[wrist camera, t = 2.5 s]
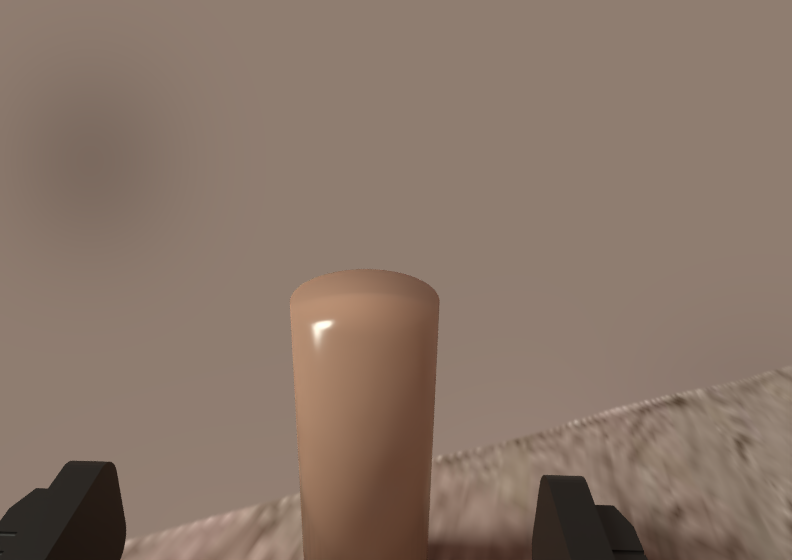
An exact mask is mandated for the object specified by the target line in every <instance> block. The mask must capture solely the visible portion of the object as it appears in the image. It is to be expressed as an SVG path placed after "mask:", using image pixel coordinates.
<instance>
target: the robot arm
mask: <svg viewBox="0 0 792 560" xmlns="http://www.w3.org/2000/svg"><path fill="white" fill-rule="evenodd" d="M125 539H126V522H125V517H124V511H123V505H122V499H121V493H120V488H119V482H118V476H117V471H116V467H115V465H114V464H113V463H112V462H98V461H69V462H68V463H66V464H65V466H64V467H63V468H62V470H61V471H60V472H59V474H58V475H57V477H56V478H55V480H54V481H53V482H52V484H51V485H50V487H49V488H48V489H43V488H36V489H35V490H33V491H32V492H31V493H29V494H28V495H27V496H25V497H24V498H23V499H21V500H20V501H19V502H17V503H16V504H15V505H13V506H12V507H11V508H9V510H8V511H7V512H6V514H5V515H4V516H3V518H2V519H1V520H0V560H120V559H121V556H122V553H123V550H124V545H125ZM532 560H648V559H647V557H646V555H644V550H643V548H642V545H641V543H640V541H639V538H638V536H637V534H636V531H635V529H634V527H633V526H632V525H631V523H630V522H629V521H628V520H627V519H626V518H625V517H624V516H623V515H622V514H621V513H620V512H619V511H618V510H617V509H616V508H615V507H614V506H611V505H595V504H594V501H593V498H592V495H591V493H590V490H589V487H588V485H587V482H586V480H585V478H584V477H583V476H560V475H543V476H542V478H541V481H540V487H539V494H538V501H537V508H536V515H535V522H534V529H533V537H532Z"/></svg>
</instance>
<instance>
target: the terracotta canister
mask: <svg viewBox="0 0 792 560" xmlns="http://www.w3.org/2000/svg"><path fill="white" fill-rule="evenodd" d="M290 311H291V329H292V330H291V331H292V349H293V368H294V386H295V404H296V423H297V441H298V458H299V459H298V460H299V478H300V497H301V516H302V534H303V552H304V560H427V551H428V530H429V509H430V488H431V467H432V445H433V426H434V405H435V384H436V382H435V381H436V363H437V342H438V341H437V340H438V320H439V297H438V295H437V293H436V292H435V290H434V289H433V288H432V287H431V286H429V285H428V284H427V283H425V282H423V281H421V280H419V279H417V278H415V277H412V276H409V275H406V274H402V273H398V272H392V271H385V270H372V269H356V270H345V271H338V272H333V273H329V274H325V275H322V276H318V277H316V278H313V279H311V280H309V281H307V282H305V283H304V284H302V285H301V286H299V287H298V288H297V289H296V290H295V291H294V292H293V294H292V296H291V299H290Z"/></svg>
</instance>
